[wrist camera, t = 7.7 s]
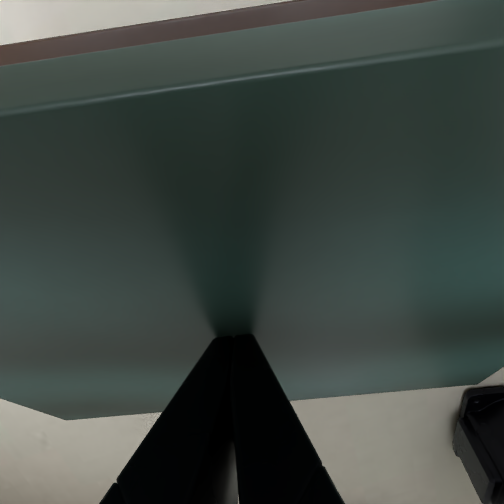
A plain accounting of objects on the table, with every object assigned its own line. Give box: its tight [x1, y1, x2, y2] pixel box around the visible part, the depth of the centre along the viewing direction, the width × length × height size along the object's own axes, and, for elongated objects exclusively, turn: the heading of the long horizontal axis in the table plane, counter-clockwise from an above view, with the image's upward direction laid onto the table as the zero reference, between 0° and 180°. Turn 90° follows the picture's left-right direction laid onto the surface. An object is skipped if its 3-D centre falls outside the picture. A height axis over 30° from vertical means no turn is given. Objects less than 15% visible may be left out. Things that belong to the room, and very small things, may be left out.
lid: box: [0, 0, 504, 420], centre depth 9 cm, size 12×15×1 cm
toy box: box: [0, 0, 438, 66], centre depth 14 cm, size 12×15×7 cm
